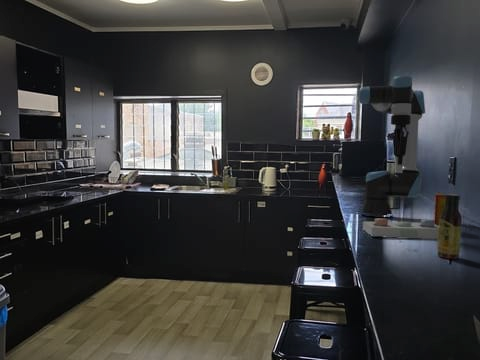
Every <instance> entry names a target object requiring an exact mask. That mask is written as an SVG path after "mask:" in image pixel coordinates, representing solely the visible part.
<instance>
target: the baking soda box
mask: <svg viewBox="0 0 480 360" xmlns="http://www.w3.org/2000/svg"><path fill="white" fill-rule="evenodd" d="M446 194H447V193H443V192H441V193H440V192H439V193H438V192H435V193H434V201H433V203H434V204H433V219H432V220H435V225H438V226H439V221H440V217H441V215H442V213H443V211H444V208H445V201H446V199H445V195H446Z"/></svg>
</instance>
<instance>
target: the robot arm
mask: <svg viewBox="0 0 480 360" xmlns="http://www.w3.org/2000/svg"><path fill="white" fill-rule="evenodd" d="M358 100H359V103H360V104H361V105H371V106H372V108H373V109H374V110H376V111H377V112H380V113H383V114H388V115H391V117H390V125H393V126H395V127H394V130H393V132H392V133H391V134H392V145H393V147H392V148H393V149H392V150H393V153H392V154H393V155H394V157H395V159H394V173H391V170H381V171H372V172H367V174H366V177H365V193H364V194H365V196H364V197H365V199H364V202H363V205H362V208H361V211H362V212H364V213H370V214H381V215H387V214H392V215H393V212H392V209H391V205H390V197H394V198H395V197H396V198H417V197H419V195H420V190H421V185H422V180H423V175H422V174H421V173H420V170H419V169H418V168H417V162H418V161H417V160H418V159H417V157H418V155H417V154H418V141H419V140H418V138H419V137H418V136H419V122H420V120H421V119H422V118H423V115H425V114H426V107H425V105H426V104H425V95H424V92H423V91H422V90H414V89H413V77H412V76H410V75H398V76H394V77H393V78H392V84H391V85H380V86H379V85H378V86H376V85H375V86H362V87H360V88H359V93H358Z"/></svg>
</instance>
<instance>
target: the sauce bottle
mask: <svg viewBox="0 0 480 360" xmlns="http://www.w3.org/2000/svg"><path fill="white" fill-rule="evenodd" d="M445 194H446V195H445V199H446V201H445V208H444V211H443V213H442V215H441V217H440V221H439V235H438V239H437V256H438V257H439V258H443V259H445V260H447V259H448V260H457V259H459V257H460V255H459V254H460V251H461V250H460V249H461V239H462V238H461V237H462V236H461V235H462V221H463V220H462V219H463V218H462V215H461V212H460V211H459V205H460V204H459V203H460V199H461V195H460V194H457V193H456V194H455V193H445Z"/></svg>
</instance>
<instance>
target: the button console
mask: <svg viewBox="0 0 480 360" xmlns="http://www.w3.org/2000/svg"><path fill="white" fill-rule="evenodd" d="M374 222H375V221H364V220H363V221H362V231H363V230H365V231H366V232H367V233H368V234H370V235H371V236H386V237H408V238H421V239H420V240H438V235H439V226H438V225H435V226H434V228H430V227H421V222H410V223H411V227H399V226H397V225H398V222H399V221H396V222H395V221H394V222H393V221H388V226H374ZM408 238H407V239H408Z"/></svg>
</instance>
